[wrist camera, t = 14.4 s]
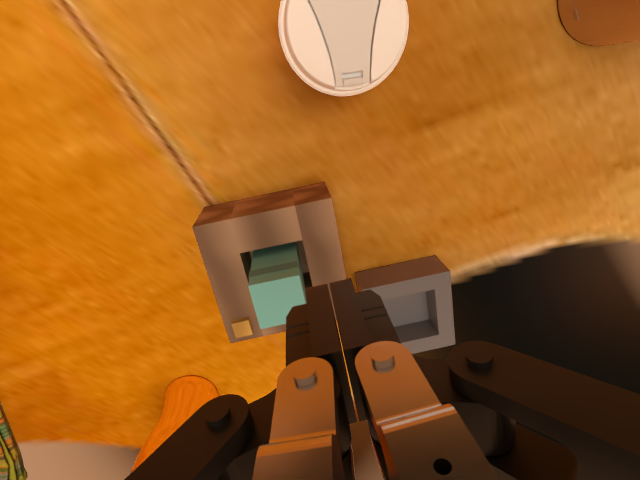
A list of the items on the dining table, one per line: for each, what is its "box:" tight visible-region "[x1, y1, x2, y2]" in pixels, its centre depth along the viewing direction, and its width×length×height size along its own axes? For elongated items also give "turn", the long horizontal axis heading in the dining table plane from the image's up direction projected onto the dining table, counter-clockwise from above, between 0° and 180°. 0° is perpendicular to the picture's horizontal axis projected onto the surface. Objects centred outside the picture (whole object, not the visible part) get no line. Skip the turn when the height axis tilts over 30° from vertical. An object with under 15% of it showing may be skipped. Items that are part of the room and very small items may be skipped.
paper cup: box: [278, 0, 409, 96], centre depth 28 cm, size 8×8×14 cm
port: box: [193, 182, 346, 343], centre depth 38 cm, size 12×12×7 cm
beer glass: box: [130, 376, 218, 474], centre depth 40 cm, size 7×7×15 cm
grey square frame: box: [355, 255, 455, 354], centre depth 43 cm, size 9×9×4 cm
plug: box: [248, 241, 307, 329], centre depth 36 cm, size 4×4×10 cm
